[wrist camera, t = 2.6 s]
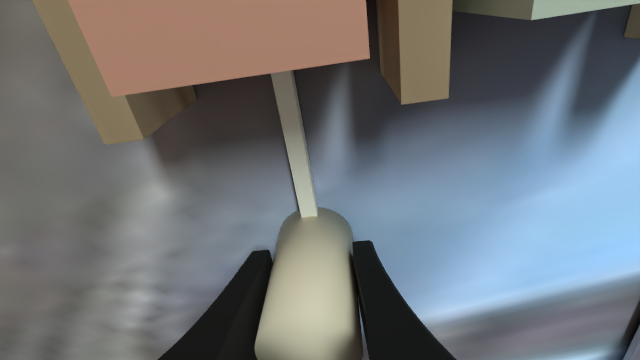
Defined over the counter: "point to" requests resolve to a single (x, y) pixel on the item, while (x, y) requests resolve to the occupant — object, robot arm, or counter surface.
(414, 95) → the oak lane rack
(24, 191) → the counter surface
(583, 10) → the sage block
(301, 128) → the beige handled piece
